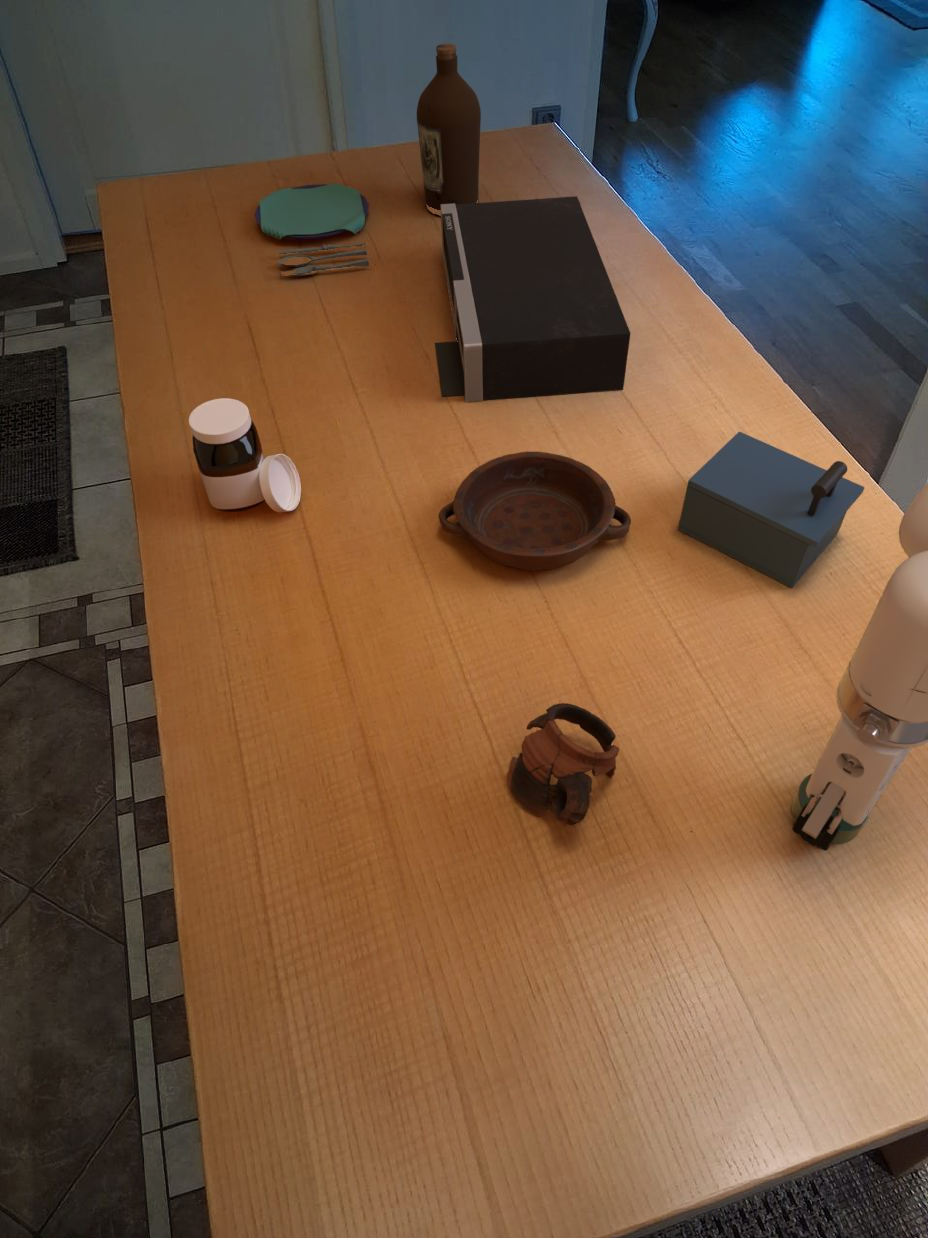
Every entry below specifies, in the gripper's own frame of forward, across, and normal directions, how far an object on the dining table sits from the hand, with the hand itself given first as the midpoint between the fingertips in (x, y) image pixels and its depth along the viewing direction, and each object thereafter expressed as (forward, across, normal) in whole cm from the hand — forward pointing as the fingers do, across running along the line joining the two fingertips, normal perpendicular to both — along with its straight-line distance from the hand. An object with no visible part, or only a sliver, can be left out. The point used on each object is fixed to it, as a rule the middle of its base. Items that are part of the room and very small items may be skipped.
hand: (828, 810), depth 79 cm
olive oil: (+2, +69, +105) cm, 126 cm away
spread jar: (+1, -4, +73) cm, 73 cm away
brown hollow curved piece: (+1, -12, +20) cm, 24 cm away
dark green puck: (+1, 0, 0) cm, 1 cm away
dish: (+1, +13, +43) cm, 45 cm away
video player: (+2, +47, +73) cm, 87 cm away
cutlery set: (+2, +47, +117) cm, 126 cm away
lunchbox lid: (-5, +29, +22) cm, 37 cm away
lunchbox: (+2, +29, +23) cm, 37 cm away
